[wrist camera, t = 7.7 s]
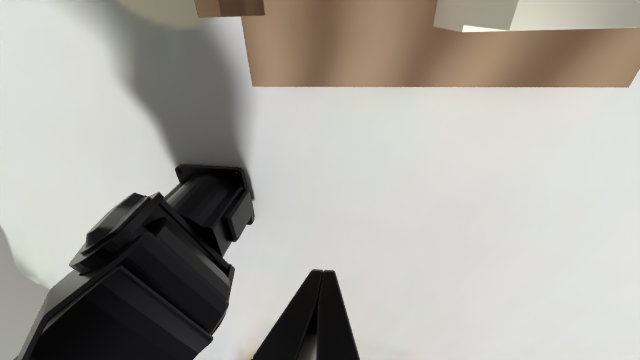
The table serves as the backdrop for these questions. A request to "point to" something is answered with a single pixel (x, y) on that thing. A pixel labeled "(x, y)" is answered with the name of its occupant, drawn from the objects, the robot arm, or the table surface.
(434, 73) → the rod stand
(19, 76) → the table surface
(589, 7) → the sleeve
